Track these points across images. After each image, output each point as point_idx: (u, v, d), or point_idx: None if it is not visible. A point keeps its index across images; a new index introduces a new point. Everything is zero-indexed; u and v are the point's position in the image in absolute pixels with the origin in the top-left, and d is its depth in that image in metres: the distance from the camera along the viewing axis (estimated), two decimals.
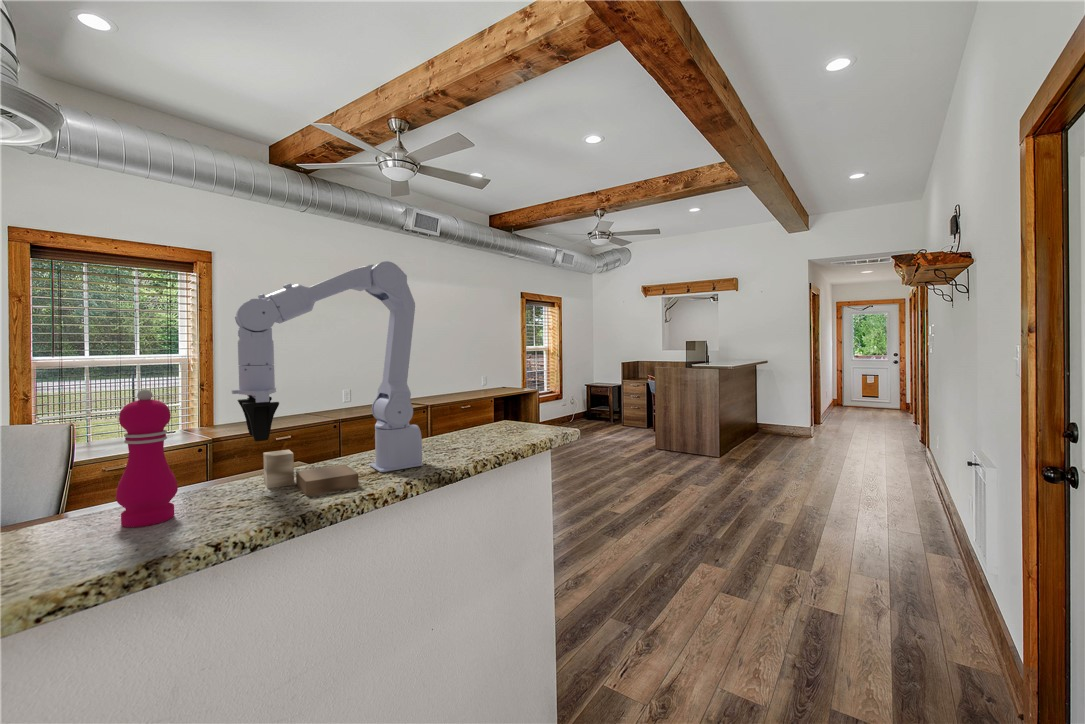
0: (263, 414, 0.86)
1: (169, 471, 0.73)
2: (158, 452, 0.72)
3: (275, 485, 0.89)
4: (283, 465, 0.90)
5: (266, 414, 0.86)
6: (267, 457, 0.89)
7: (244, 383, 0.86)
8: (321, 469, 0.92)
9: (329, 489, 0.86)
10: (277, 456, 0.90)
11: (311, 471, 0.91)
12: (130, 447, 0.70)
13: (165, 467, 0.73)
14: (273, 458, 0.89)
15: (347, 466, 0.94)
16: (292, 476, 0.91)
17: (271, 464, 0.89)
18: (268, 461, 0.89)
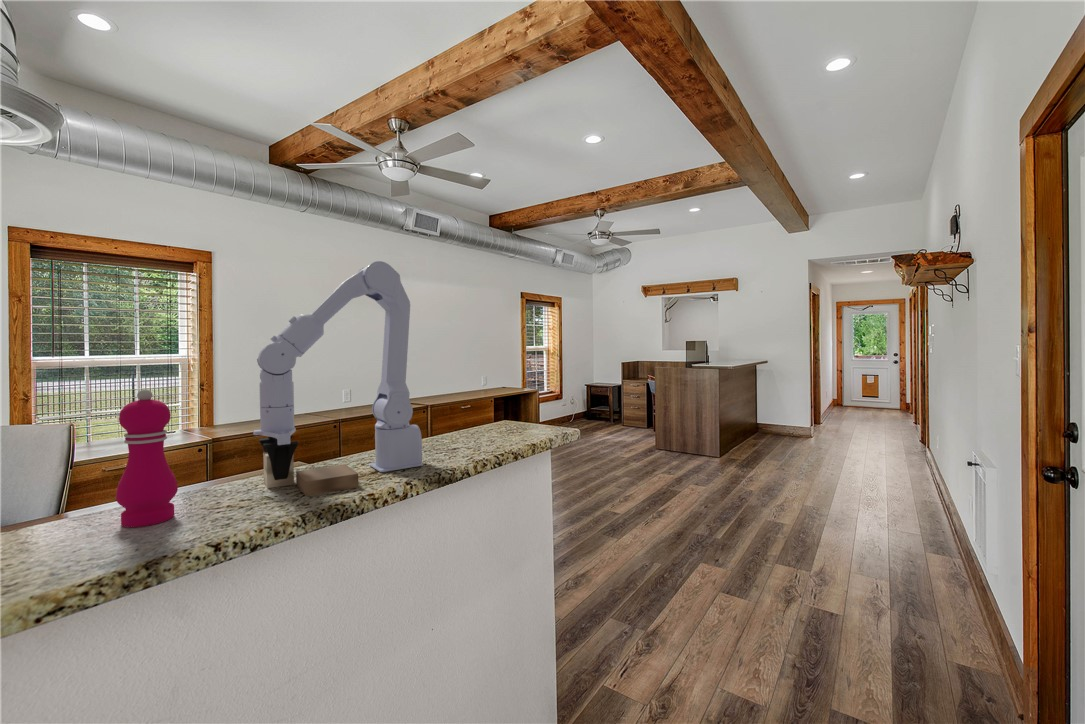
0: (283, 453, 0.89)
1: (169, 471, 0.73)
2: (158, 452, 0.72)
3: (275, 485, 0.89)
4: None
5: (285, 453, 0.90)
6: (267, 457, 0.89)
7: (265, 424, 0.89)
8: (321, 469, 0.92)
9: (329, 489, 0.86)
10: None
11: (311, 471, 0.91)
12: (130, 447, 0.70)
13: (165, 467, 0.73)
14: None
15: (347, 466, 0.94)
16: (292, 476, 0.91)
17: None
18: (268, 461, 0.89)
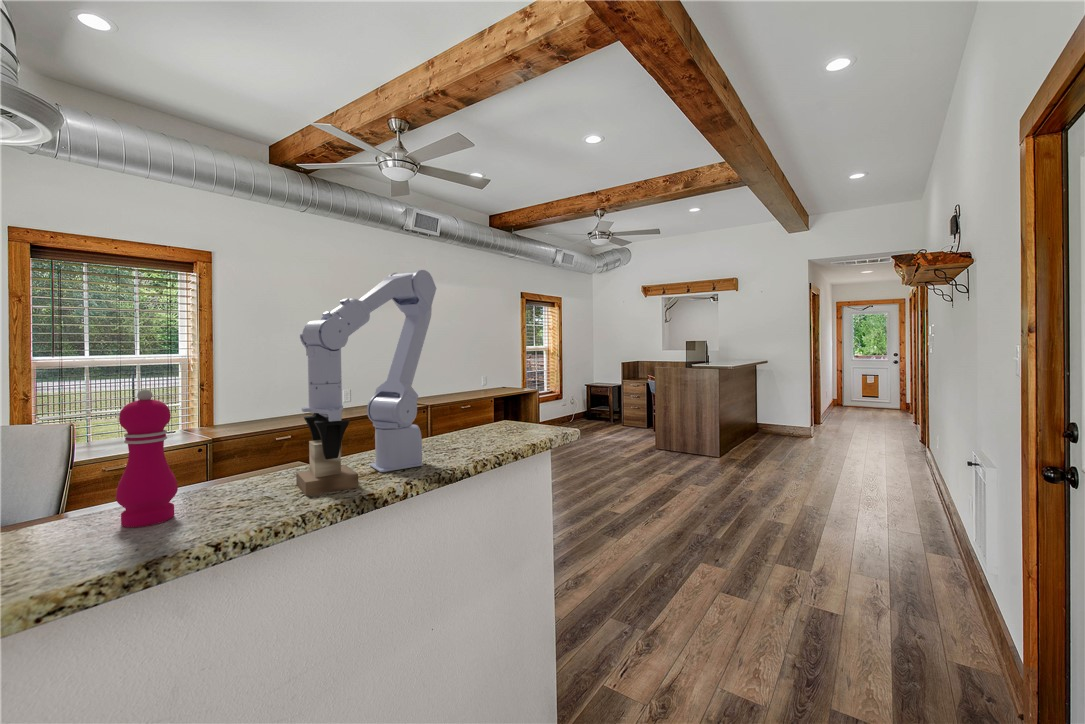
0: (333, 432, 0.86)
1: (169, 471, 0.73)
2: (158, 452, 0.72)
3: (323, 474, 0.88)
4: None
5: (336, 432, 0.87)
6: (315, 445, 0.87)
7: (314, 401, 0.87)
8: None
9: (329, 489, 0.86)
10: None
11: None
12: (130, 447, 0.70)
13: (165, 467, 0.73)
14: (321, 446, 0.87)
15: (347, 466, 0.94)
16: (339, 465, 0.89)
17: (319, 453, 0.87)
18: (316, 449, 0.87)
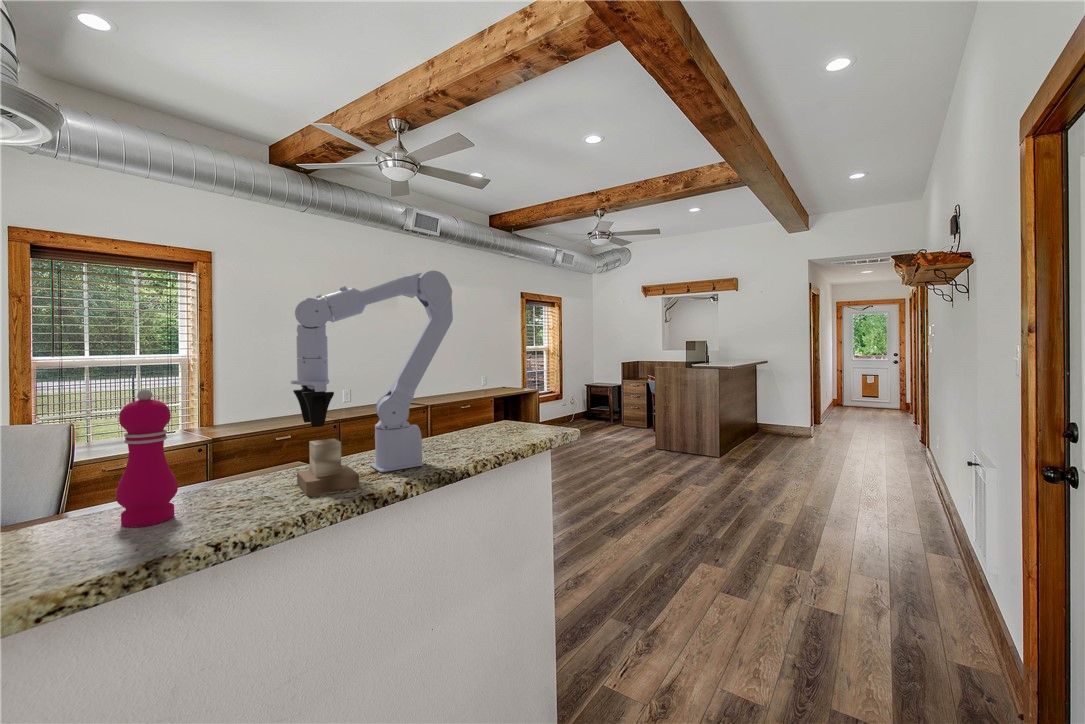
0: (320, 402, 0.95)
1: (169, 471, 0.73)
2: (158, 452, 0.72)
3: (323, 474, 0.88)
4: (331, 454, 0.88)
5: (322, 403, 0.95)
6: (315, 445, 0.87)
7: (302, 374, 0.95)
8: None
9: (330, 489, 0.86)
10: (325, 444, 0.88)
11: None
12: (130, 447, 0.70)
13: (165, 467, 0.73)
14: (321, 446, 0.87)
15: (348, 467, 0.95)
16: (339, 465, 0.89)
17: (319, 453, 0.87)
18: (316, 449, 0.87)
